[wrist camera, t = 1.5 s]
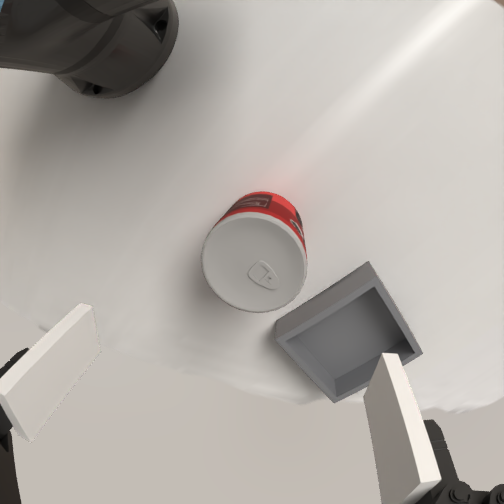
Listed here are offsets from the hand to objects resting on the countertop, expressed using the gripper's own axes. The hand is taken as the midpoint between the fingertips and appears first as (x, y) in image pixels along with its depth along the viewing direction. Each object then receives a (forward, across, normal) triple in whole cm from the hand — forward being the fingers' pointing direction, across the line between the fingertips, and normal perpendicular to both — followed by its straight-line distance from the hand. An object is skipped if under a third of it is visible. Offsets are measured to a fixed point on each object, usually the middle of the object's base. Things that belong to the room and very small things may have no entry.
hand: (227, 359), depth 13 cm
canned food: (+22, 0, 0) cm, 22 cm away
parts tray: (+21, +12, -11) cm, 27 cm away
